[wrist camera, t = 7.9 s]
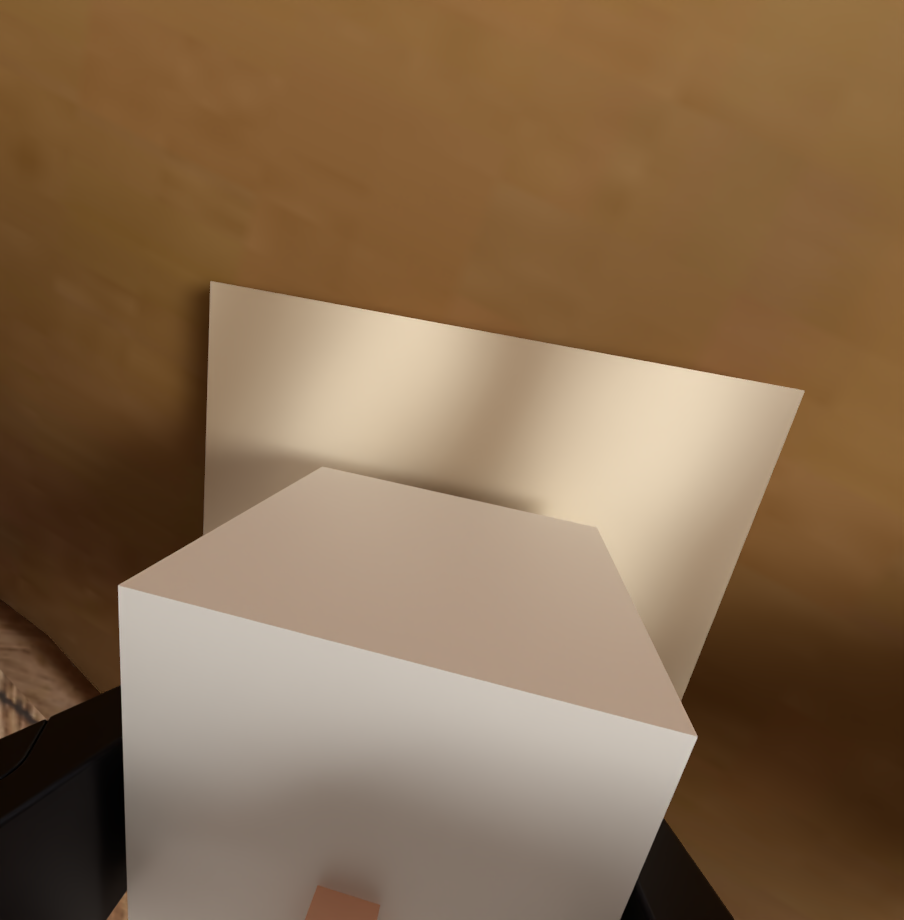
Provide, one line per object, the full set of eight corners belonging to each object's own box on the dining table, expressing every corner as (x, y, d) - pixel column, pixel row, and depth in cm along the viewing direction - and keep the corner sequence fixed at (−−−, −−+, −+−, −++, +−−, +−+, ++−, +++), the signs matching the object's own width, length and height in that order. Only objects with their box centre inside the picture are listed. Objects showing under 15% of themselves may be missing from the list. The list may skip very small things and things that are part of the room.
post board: (762, 385, 10) (994, 413, 5) (601, 817, 14) (650, 1069, 9) (249, 290, 11) (49, 240, 6) (227, 712, 15) (90, 883, 10)
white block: (596, 527, 9) (717, 776, 4) (521, 781, 11) (529, 1192, 5) (322, 466, 9) (81, 607, 4) (295, 718, 11) (105, 1034, 6)
